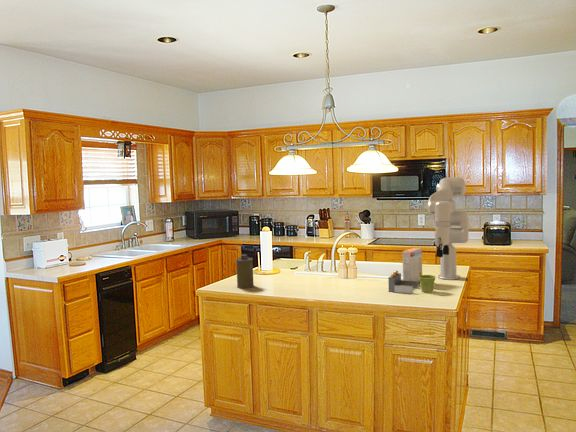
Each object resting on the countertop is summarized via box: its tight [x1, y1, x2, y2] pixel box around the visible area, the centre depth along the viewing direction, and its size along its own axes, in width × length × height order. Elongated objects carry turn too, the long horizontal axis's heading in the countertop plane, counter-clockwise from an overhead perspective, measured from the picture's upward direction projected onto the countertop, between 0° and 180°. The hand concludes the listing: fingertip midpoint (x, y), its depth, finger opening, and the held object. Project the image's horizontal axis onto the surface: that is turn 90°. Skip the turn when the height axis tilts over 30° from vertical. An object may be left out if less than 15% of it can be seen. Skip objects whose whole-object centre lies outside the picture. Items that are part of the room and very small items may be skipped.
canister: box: [235, 254, 255, 289], centre depth 292 cm, size 11×10×20 cm
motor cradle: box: [387, 270, 419, 295], centre depth 269 cm, size 15×14×10 cm
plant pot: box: [418, 274, 437, 294], centre depth 263 cm, size 9×9×9 cm
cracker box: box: [401, 247, 423, 284], centre depth 283 cm, size 14×6×21 cm, turn 137°
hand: (442, 255), depth 256 cm, fingers open, 9 cm apart
